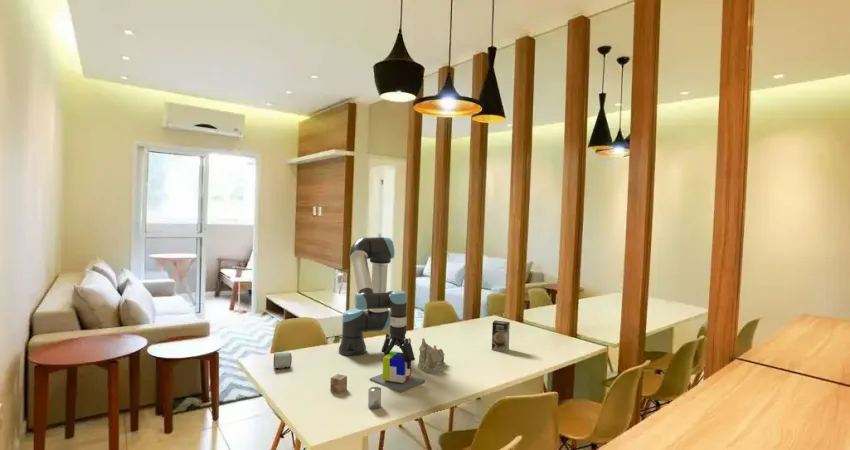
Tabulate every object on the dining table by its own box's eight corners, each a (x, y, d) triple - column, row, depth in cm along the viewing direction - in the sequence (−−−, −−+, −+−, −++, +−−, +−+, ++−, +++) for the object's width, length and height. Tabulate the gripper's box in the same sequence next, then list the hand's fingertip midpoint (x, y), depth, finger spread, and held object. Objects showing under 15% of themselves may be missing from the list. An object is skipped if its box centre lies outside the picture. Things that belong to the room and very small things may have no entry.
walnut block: (330, 391, 183) (330, 377, 183) (337, 387, 187) (337, 373, 187) (339, 393, 180) (339, 379, 180) (346, 389, 185) (347, 376, 185)
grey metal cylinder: (365, 406, 168) (365, 389, 168) (374, 402, 172) (375, 385, 172) (374, 410, 165) (374, 393, 165) (383, 406, 169) (383, 389, 169)
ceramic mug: (292, 368, 209) (292, 353, 209) (274, 371, 205) (274, 355, 205) (289, 362, 218) (289, 347, 218) (272, 364, 215) (272, 349, 215)
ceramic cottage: (426, 374, 204) (428, 343, 204) (412, 365, 218) (414, 335, 219) (454, 372, 211) (456, 341, 211) (439, 363, 225) (440, 334, 226)
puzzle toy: (403, 382, 189) (403, 360, 189) (382, 379, 192) (382, 357, 192) (410, 375, 198) (411, 354, 198) (391, 372, 202) (391, 351, 201)
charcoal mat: (369, 380, 196) (369, 378, 196) (394, 371, 208) (394, 369, 208) (400, 392, 183) (400, 390, 183) (424, 382, 195) (424, 380, 195)
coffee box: (491, 350, 244) (491, 322, 244) (493, 347, 250) (494, 319, 250) (507, 352, 241) (507, 324, 241) (509, 349, 247) (509, 321, 247)
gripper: (374, 322, 200) (373, 367, 201) (412, 331, 184) (411, 381, 185) (385, 319, 206) (385, 363, 206) (423, 328, 190) (422, 376, 190)
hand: (397, 371), depth 195 cm, fingers closed on puzzle toy, 12 cm apart
